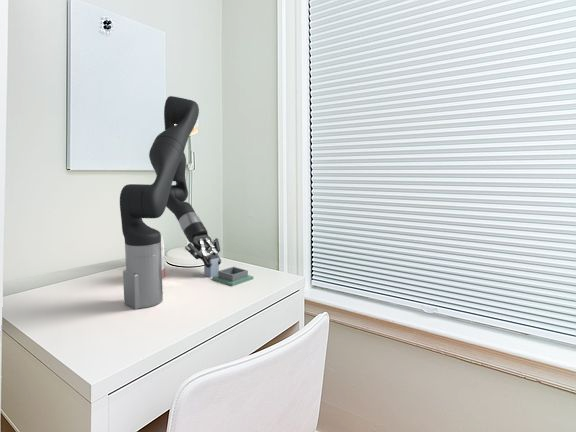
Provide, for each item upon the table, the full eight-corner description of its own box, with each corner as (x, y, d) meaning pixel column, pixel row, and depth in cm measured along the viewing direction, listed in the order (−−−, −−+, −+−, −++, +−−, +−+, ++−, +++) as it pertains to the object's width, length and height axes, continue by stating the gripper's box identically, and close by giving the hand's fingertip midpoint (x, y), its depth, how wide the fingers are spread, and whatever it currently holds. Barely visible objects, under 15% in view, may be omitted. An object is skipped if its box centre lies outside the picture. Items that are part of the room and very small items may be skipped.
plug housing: (210, 277, 117) (210, 257, 116) (204, 275, 119) (204, 256, 118) (218, 274, 120) (218, 256, 119) (212, 272, 122) (212, 254, 121)
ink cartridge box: (151, 275, 118) (150, 234, 116) (165, 275, 117) (164, 235, 116) (140, 283, 109) (138, 239, 107) (155, 284, 109) (154, 240, 107)
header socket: (232, 286, 109) (232, 277, 108) (212, 279, 115) (212, 271, 114) (253, 278, 116) (253, 270, 116) (233, 272, 122) (233, 265, 122)
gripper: (180, 223, 116) (203, 263, 110) (212, 219, 127) (234, 255, 121) (172, 235, 120) (193, 275, 114) (203, 230, 131) (224, 266, 125)
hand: (214, 264), depth 118 cm, fingers closed on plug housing, 3 cm apart
